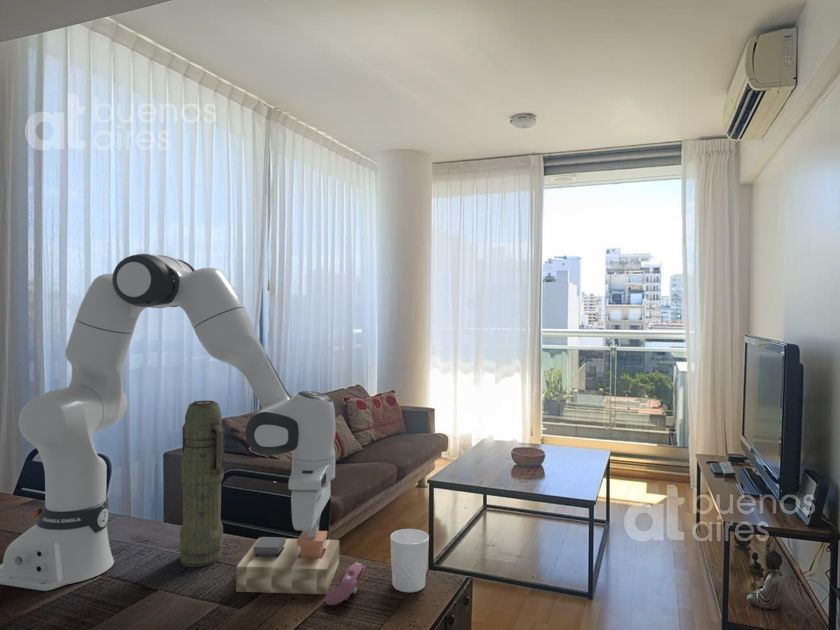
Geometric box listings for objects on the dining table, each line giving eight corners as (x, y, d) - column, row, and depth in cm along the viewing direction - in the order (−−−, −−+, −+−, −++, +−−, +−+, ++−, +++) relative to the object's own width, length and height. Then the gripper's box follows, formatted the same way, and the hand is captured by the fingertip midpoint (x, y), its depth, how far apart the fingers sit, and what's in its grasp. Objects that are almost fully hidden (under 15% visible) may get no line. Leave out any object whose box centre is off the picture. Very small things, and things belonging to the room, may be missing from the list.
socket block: (236, 591, 110) (236, 566, 110) (258, 560, 124) (259, 537, 124) (326, 594, 110) (327, 569, 110) (338, 562, 124) (339, 540, 124)
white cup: (391, 575, 119) (392, 528, 119) (428, 576, 118) (429, 529, 118) (388, 593, 111) (388, 543, 111) (427, 595, 110) (428, 544, 110)
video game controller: (342, 616, 105) (359, 585, 104) (321, 603, 106) (338, 572, 105) (357, 591, 115) (372, 562, 114) (338, 579, 115) (353, 550, 115)
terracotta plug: (296, 572, 115) (297, 540, 115) (302, 561, 120) (303, 530, 120) (321, 573, 114) (322, 541, 114) (326, 562, 120) (327, 531, 120)
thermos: (195, 546, 131) (197, 397, 131) (235, 555, 127) (238, 401, 127) (165, 561, 123) (167, 402, 123) (207, 571, 118) (209, 407, 118)
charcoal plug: (253, 579, 115) (253, 546, 115) (260, 567, 120) (261, 536, 120) (278, 580, 115) (278, 547, 115) (284, 568, 120) (285, 537, 120)
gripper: (310, 456, 127) (309, 516, 128) (286, 483, 107) (285, 555, 107) (337, 456, 127) (336, 517, 127) (318, 484, 107) (317, 556, 107)
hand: (313, 535), depth 117 cm, fingers closed, pressing on terracotta plug
